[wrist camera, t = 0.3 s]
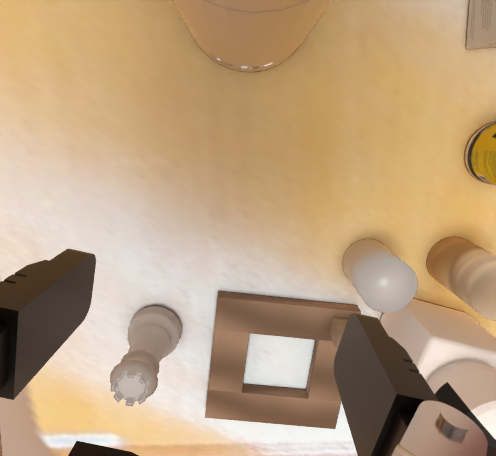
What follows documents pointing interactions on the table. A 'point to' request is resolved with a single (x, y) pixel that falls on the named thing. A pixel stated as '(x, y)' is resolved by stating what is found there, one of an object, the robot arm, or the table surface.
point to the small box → (481, 24)
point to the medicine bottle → (450, 358)
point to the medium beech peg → (466, 273)
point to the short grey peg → (379, 276)
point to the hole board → (277, 324)
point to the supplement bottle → (482, 154)
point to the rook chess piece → (145, 353)
